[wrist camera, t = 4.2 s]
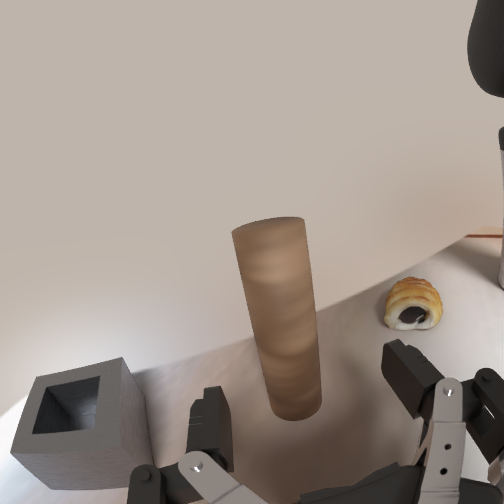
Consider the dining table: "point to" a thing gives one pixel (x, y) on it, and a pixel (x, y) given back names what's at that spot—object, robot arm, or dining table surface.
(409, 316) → the pastry
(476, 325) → the dining table surface
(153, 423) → the dining table surface
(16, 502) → the dining table surface
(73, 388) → the socket block
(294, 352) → the peg
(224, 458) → the robot arm
